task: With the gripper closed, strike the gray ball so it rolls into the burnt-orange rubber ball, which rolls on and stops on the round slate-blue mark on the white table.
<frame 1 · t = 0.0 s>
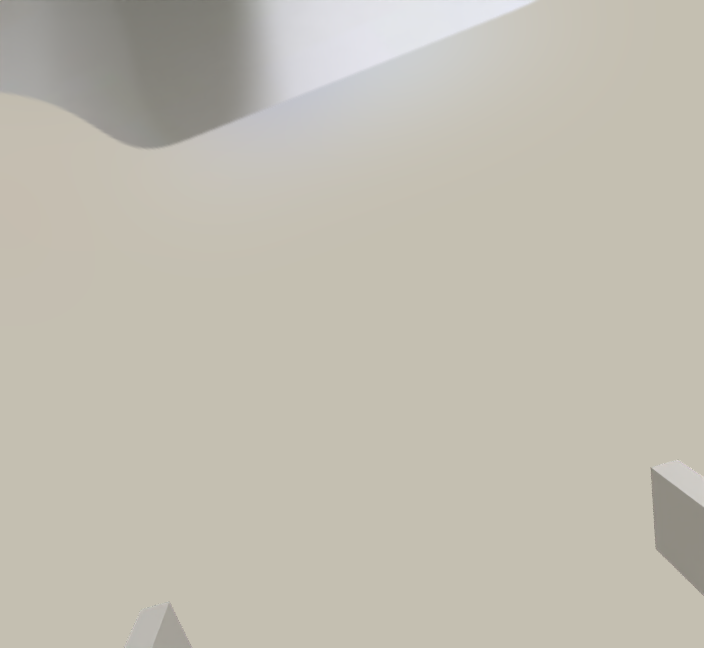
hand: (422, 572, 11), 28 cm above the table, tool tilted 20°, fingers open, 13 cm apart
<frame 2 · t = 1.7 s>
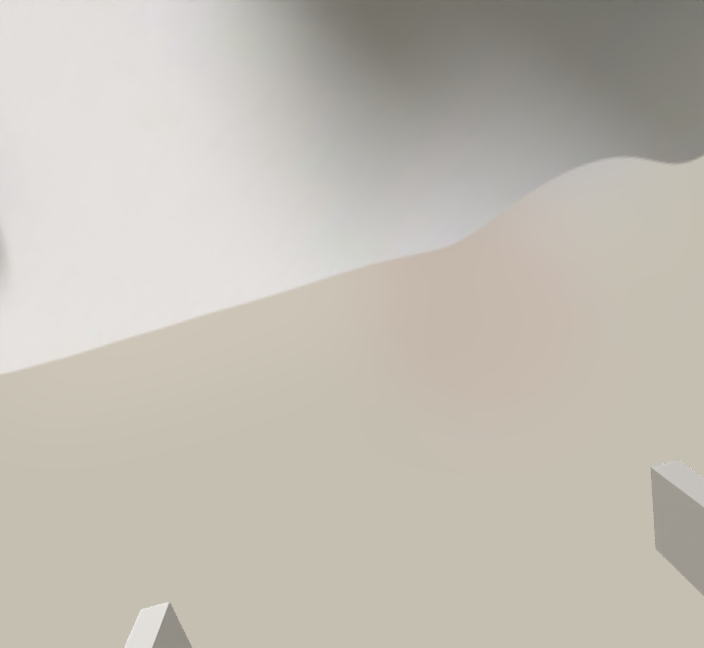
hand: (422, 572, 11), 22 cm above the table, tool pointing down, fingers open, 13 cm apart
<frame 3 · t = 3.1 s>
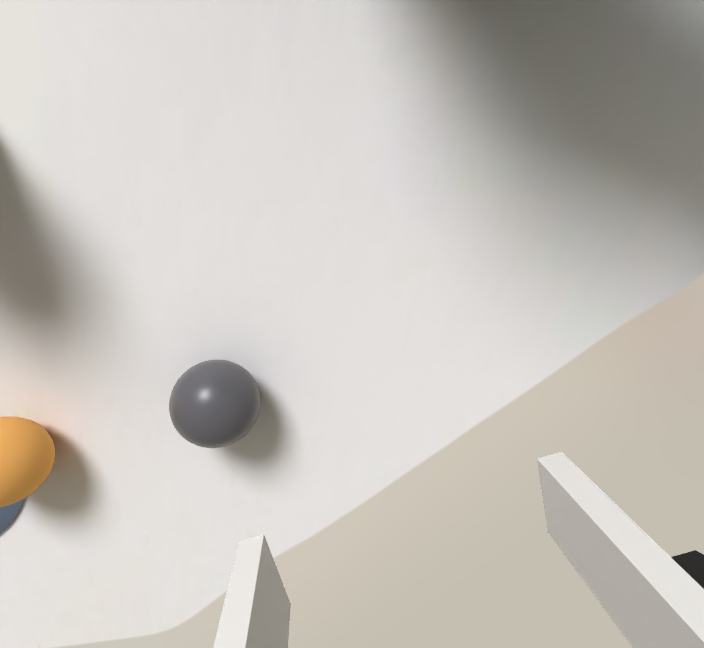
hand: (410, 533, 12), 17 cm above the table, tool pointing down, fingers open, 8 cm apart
gray ball: (216, 402, 26), on the table
object ball: (1, 461, 26), on the table
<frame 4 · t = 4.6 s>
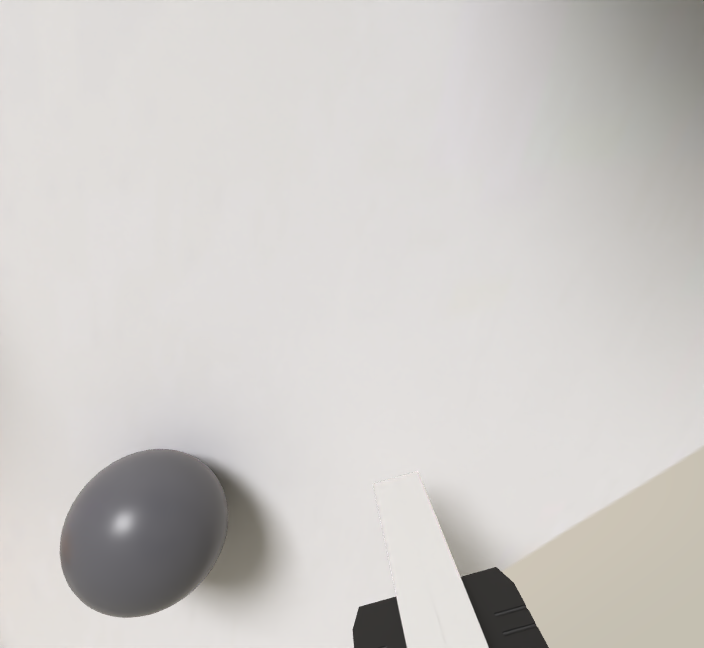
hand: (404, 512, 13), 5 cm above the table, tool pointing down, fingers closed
gray ball: (150, 526, 15), on the table
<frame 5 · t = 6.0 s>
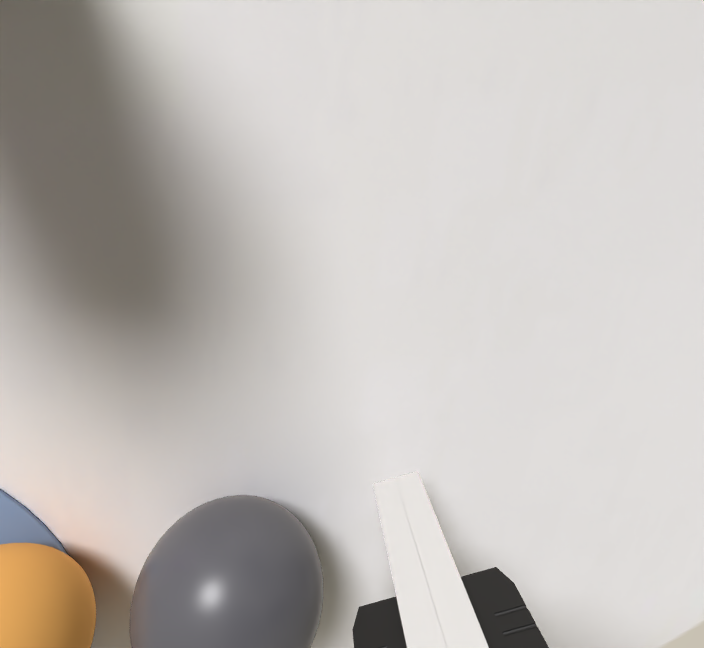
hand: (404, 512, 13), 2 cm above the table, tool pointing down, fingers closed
gray ball: (232, 593, 12), on the table
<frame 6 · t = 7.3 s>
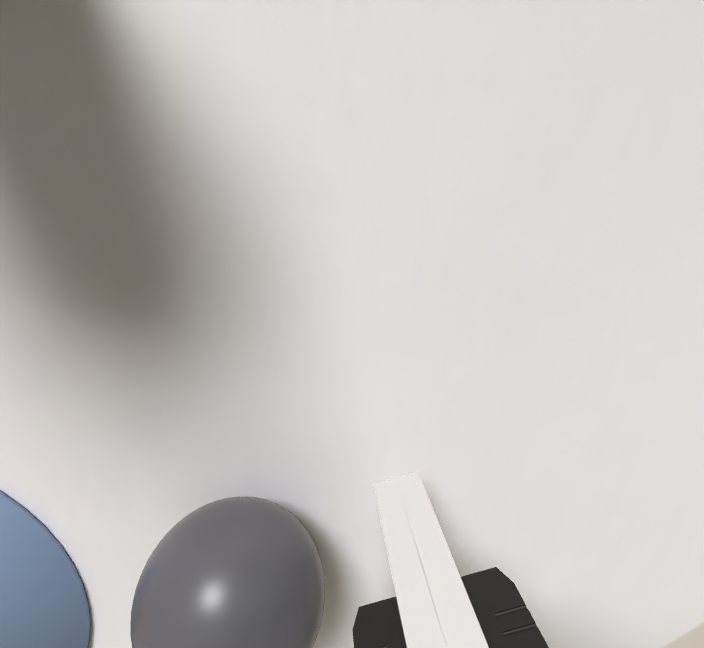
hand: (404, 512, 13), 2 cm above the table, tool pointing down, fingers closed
gray ball: (233, 595, 12), on the table
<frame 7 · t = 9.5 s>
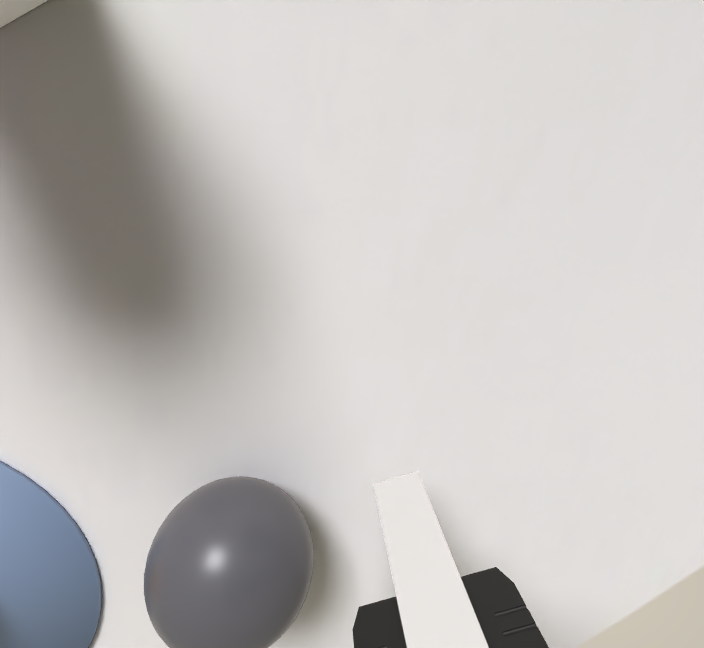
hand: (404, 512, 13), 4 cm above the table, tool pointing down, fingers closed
gray ball: (233, 561, 14), on the table
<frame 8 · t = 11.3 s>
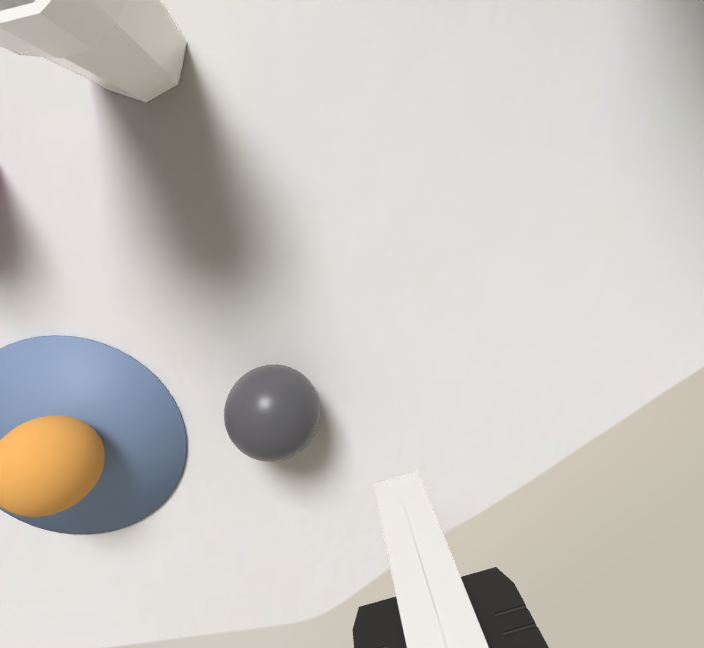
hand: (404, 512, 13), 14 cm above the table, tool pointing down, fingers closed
gray ball: (273, 411, 24), on the table
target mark: (73, 440, 26), on the table
cup: (136, 47, 21), on the table
object ball: (49, 464, 24), on the table
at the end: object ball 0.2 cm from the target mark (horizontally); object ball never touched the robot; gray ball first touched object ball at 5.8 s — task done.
